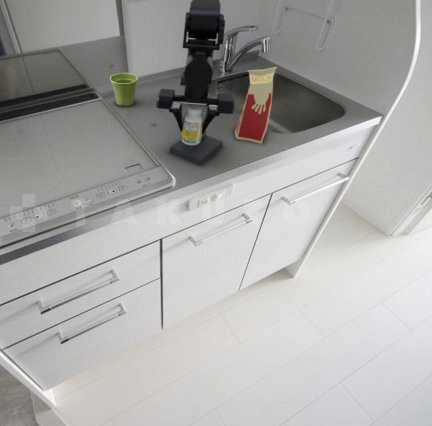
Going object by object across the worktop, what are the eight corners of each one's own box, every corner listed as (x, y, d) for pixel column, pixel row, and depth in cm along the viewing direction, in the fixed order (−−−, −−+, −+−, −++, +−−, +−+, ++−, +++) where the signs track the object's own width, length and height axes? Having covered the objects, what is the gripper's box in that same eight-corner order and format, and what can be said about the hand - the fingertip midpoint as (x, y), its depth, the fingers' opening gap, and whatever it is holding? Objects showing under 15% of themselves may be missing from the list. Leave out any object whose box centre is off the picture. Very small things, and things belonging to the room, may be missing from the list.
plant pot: (143, 104, 107) (143, 79, 101) (120, 111, 103) (118, 85, 97) (130, 95, 112) (129, 70, 106) (107, 101, 108) (104, 76, 102)
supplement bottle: (189, 147, 80) (192, 113, 73) (177, 138, 83) (179, 105, 76) (205, 142, 82) (209, 108, 75) (193, 133, 85) (196, 100, 78)
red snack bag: (265, 129, 96) (285, 62, 82) (262, 144, 89) (283, 74, 75) (236, 124, 98) (251, 58, 84) (232, 138, 91) (246, 69, 77)
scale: (191, 135, 92) (192, 124, 90) (221, 147, 88) (224, 136, 85) (168, 152, 85) (168, 141, 83) (200, 166, 81) (201, 154, 78)
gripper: (237, 62, 75) (226, 120, 86) (162, 57, 76) (161, 115, 87) (240, 79, 67) (227, 141, 78) (156, 73, 68) (155, 135, 79)
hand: (192, 132), depth 81 cm, fingers closed on supplement bottle, 5 cm apart
